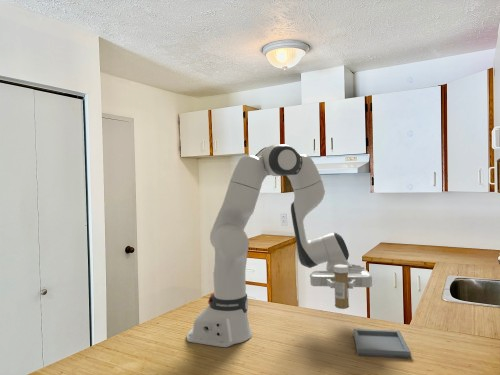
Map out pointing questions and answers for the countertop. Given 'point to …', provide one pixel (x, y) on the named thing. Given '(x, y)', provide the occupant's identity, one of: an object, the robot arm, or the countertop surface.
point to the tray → (380, 343)
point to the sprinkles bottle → (341, 286)
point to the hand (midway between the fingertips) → (341, 286)
